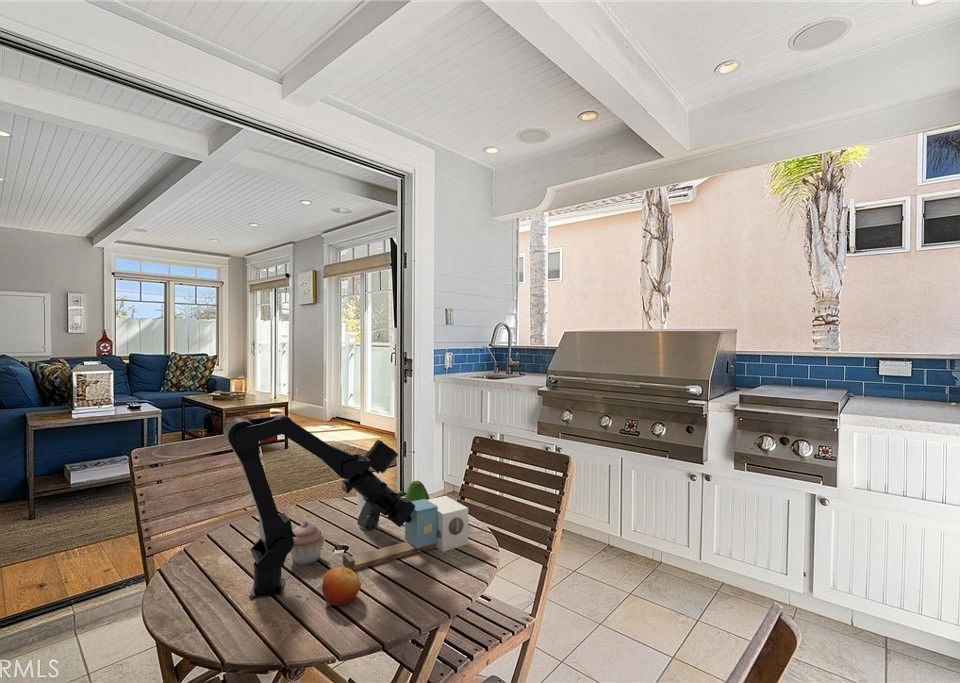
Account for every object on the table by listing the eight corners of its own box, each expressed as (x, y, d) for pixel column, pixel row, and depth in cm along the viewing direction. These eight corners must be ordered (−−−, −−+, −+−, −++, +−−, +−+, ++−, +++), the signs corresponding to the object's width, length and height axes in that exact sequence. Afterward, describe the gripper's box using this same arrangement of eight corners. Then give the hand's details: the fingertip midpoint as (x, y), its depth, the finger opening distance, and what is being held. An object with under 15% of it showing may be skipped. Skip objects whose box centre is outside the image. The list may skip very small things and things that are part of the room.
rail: (349, 571, 115) (349, 561, 115) (342, 563, 119) (342, 553, 119) (436, 546, 129) (436, 538, 129) (427, 540, 133) (427, 531, 133)
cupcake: (277, 563, 119) (277, 523, 119) (305, 548, 128) (306, 511, 127) (305, 571, 115) (306, 530, 115) (333, 555, 124) (333, 517, 124)
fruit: (311, 590, 104) (331, 556, 106) (344, 602, 107) (363, 569, 108) (312, 610, 97) (334, 573, 98) (347, 623, 99) (367, 587, 100)
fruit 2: (432, 514, 152) (432, 477, 152) (426, 524, 144) (427, 485, 144) (407, 513, 153) (407, 476, 153) (401, 523, 145) (401, 484, 145)
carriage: (417, 549, 124) (417, 511, 124) (404, 539, 130) (404, 503, 130) (437, 543, 128) (438, 506, 128) (424, 533, 134) (424, 498, 134)
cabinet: (444, 553, 126) (444, 515, 125) (421, 536, 136) (421, 501, 136) (469, 545, 130) (470, 509, 130) (445, 529, 141) (445, 495, 141)
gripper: (336, 503, 125) (375, 535, 132) (363, 527, 110) (406, 561, 116) (365, 469, 130) (401, 501, 136) (394, 486, 114) (434, 522, 121)
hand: (409, 521), depth 127 cm, fingers closed, pressing on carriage
